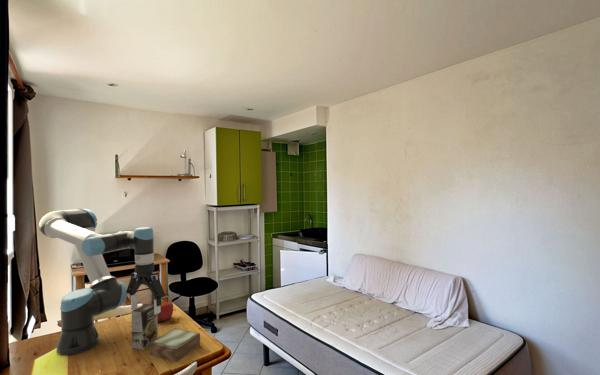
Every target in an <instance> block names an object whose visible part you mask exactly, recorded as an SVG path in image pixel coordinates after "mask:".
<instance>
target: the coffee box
mask: <svg viewBox="0 0 600 375" xmlns="http://www.w3.org/2000/svg"><path fill="white" fill-rule="evenodd" d="M158 329H159V328H158V322H157V314H156V315H155V314H154V303H145V304H143V305H141V306H138V308H137V309H134V310H131V349H137V350H145V349H146V348H148V347H150V342H152V341H154V340H155V339H157V338H159V336H158V334H159V333H158Z"/></svg>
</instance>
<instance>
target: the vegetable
mask: <svg viewBox="0 0 600 375" xmlns="http://www.w3.org/2000/svg"><path fill="white" fill-rule="evenodd" d="M160 306H161V312H160V313H158V314H157V323H158V322H165V321H167V320H169V319H171V317H172V316H173V314H174V304H173V302H171V301H165V302H163V300H161V305H160Z"/></svg>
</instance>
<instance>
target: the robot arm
mask: <svg viewBox="0 0 600 375" xmlns="http://www.w3.org/2000/svg"><path fill="white" fill-rule="evenodd" d="M39 220H40V221H39V222H38V223H39V224H38V229H39V232H41V234H42V235H43V236H46V237H47V238H50V239H60V240H62V241H64V242H67V243H70V244H71V245H75V249H76V250H77V253H78V255H79V259H80V261H81V262H82V265H83V268H84V271H85V272H86V276H87V277H88V280H89V283H90V286H89V287H85V288H80V289H75V290H73V291H71V292H69V293H67V294H65V295H64V296H63V297H62V298H61V302H60V307H59V308H60V320H61V321H60V324H61V325H60V327H61V332H60V335H59V338H58V341H57V344H56V353H57V354H58V355H61V354H62V356H71V355H76V354H80V353H83V352H86V351H89V350H90V349H93V348H94V347H96V346H97V345H98V344H99V342H100V335H99V333H98V331H97V329H96V326H95V317H97V316H100V315H103V314H105V313H106V312H110V311H113V310H115V309H117V308H120V307H122V306H123V305H124V304H125V303H126V300H127V297H128V295H129V296H130V297H129V301H130V310H131V311H133V310H135V309H137V308H139V306H138V292H137V291H138V290H139V289H140V287H141V286H142V285H144V286H146V287H148V288H149V290H150V291H151V293H152V295H153V297H154V299H153V304H154V314H155V315H156V314H158V313H160V312H161V306H160V305H161V301H162V298H164V297H166V293H165V291H164V287H163V286H162V283H161V280H160V274H154V271H155V263H154V261H155V248H154V238H155V235H154V230H153V227H150V226H146V227H145V226H144V227H143V226H142V227H136V228H134V230H132V231H131V230H130V231H129V230H120V231H118V232H116V233H108V234H107V233H106V234H100V233H97V232H95V231H96V228H97V226H98V218H97V216H96V214H95V213H94V211H93V210H91V209H88V208H76V209H65V210H64V209H63V210H53V211H50V212H48V213H46V214H45V215H44V216H42V217H41V219H39ZM127 249H133V250H134V263H135V264H134V272H132V273H130V279H129V282H128V284H127V286H126V284H125V283H124V282H123V281H118V280H117V277H116V276H113V275H111V273H110V270H109V268H108V266H107V262H106V261H105V258H104V256H103V254H107V253H108V254H109V253H111V252H117V251H122V250H127Z"/></svg>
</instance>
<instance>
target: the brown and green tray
mask: <svg viewBox="0 0 600 375" xmlns="http://www.w3.org/2000/svg"><path fill="white" fill-rule="evenodd" d="M197 346H198V347H200V346H201V333H200V332H195V331H190V330H189V331H188V330H185V329H181V328H175V327H174V328H173V329H171V330H169V331H168V332H166V333H163V334H162V335H161V336H158V338H157V339H155V340H154V341H152V342H150V346H149V355H150V356H154V357H157V358H161V359H164V360H168V361H172V362H178V361H180V360H181V359H183V358H185V356H187V355H188V354H190V353H191V352H193V349H194V350H195V349H196V348H198V347H197Z"/></svg>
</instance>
